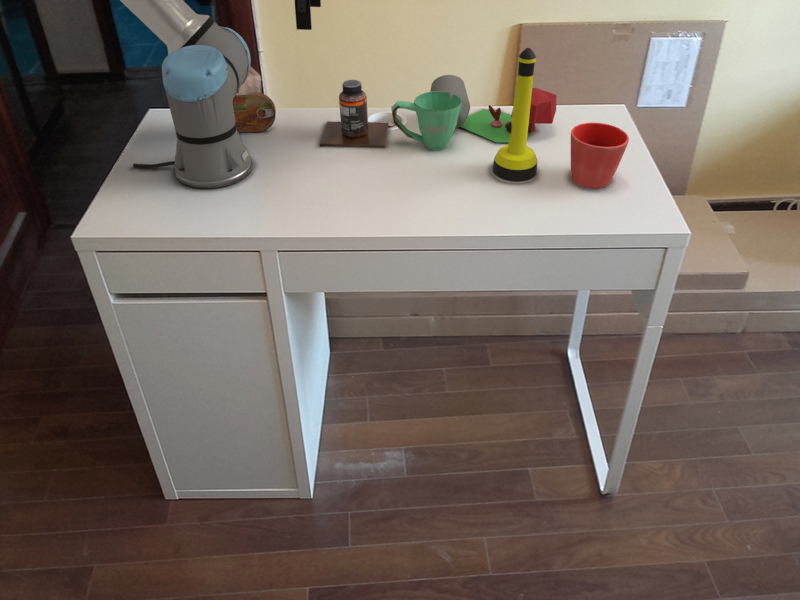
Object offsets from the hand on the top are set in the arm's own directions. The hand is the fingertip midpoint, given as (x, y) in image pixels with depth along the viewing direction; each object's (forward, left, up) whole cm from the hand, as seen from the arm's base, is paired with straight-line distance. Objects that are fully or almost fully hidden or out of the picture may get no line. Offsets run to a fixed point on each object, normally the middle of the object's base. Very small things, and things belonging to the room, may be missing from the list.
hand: (309, 17), depth 133 cm
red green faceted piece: (+41, +9, -26) cm, 50 cm away
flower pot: (+56, -13, -27) cm, 64 cm away
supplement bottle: (+7, +4, -26) cm, 27 cm away
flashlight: (+41, -11, -27) cm, 50 cm away
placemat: (+7, +4, -26) cm, 28 cm away
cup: (+28, +5, -24) cm, 37 cm away
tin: (-18, +5, -27) cm, 32 cm away
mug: (+23, 0, -27) cm, 35 cm away
